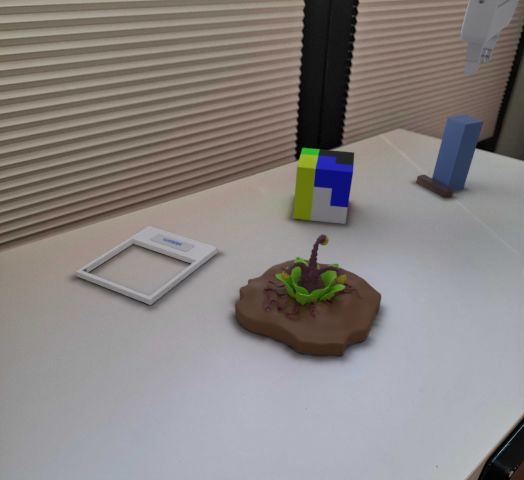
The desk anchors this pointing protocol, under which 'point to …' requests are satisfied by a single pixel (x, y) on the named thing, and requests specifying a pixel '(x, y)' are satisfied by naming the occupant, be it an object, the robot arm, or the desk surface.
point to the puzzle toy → (323, 185)
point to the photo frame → (159, 243)
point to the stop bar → (435, 186)
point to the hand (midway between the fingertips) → (477, 67)
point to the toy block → (457, 150)
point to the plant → (309, 305)
